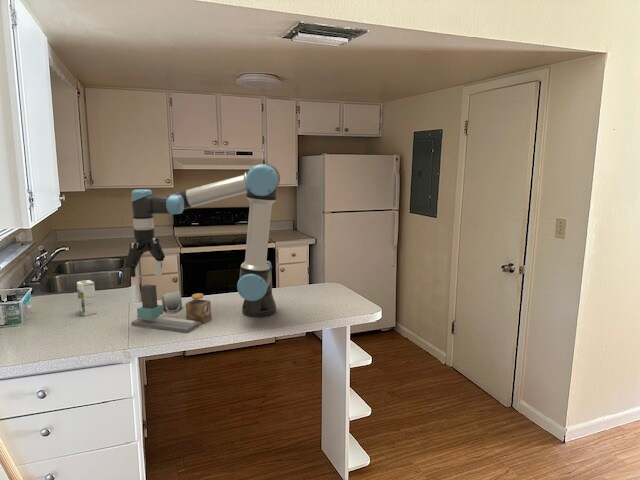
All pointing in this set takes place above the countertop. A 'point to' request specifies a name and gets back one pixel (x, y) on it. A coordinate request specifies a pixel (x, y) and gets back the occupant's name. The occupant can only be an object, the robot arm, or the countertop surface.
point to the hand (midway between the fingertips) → (147, 280)
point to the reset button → (197, 296)
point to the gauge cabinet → (198, 310)
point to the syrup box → (86, 297)
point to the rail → (167, 324)
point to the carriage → (149, 303)
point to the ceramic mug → (172, 301)
